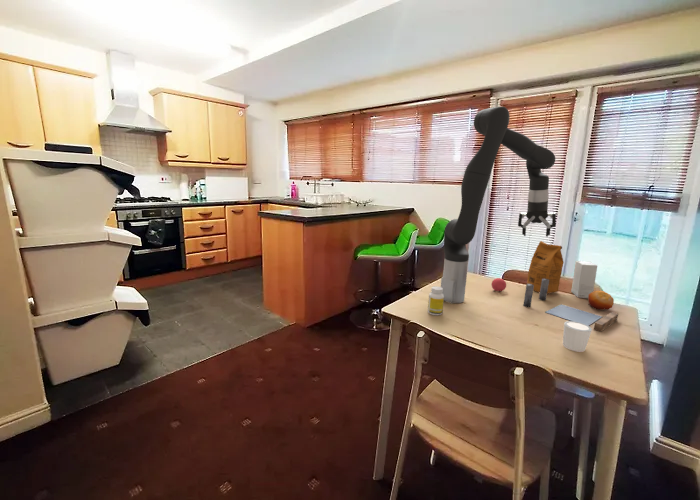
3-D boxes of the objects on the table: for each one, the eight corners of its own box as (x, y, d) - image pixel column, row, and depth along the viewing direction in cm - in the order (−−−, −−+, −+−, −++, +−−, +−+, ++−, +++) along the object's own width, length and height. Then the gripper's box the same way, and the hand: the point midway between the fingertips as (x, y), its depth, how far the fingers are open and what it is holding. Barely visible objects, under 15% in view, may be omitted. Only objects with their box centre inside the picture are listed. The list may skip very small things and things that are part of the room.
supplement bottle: (445, 315, 118) (447, 290, 116) (431, 316, 117) (433, 290, 115) (438, 309, 123) (440, 285, 121) (425, 310, 122) (427, 285, 120)
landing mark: (587, 326, 111) (587, 326, 111) (544, 312, 122) (545, 311, 122) (602, 317, 119) (602, 316, 119) (561, 304, 130) (561, 304, 130)
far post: (544, 301, 134) (547, 280, 132) (537, 299, 136) (540, 278, 134) (547, 299, 135) (550, 279, 133) (540, 297, 137) (543, 277, 135)
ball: (500, 294, 140) (502, 281, 139) (488, 290, 145) (489, 277, 144) (508, 291, 144) (509, 279, 142) (495, 288, 148) (497, 275, 147)
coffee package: (539, 284, 154) (546, 240, 149) (561, 293, 143) (570, 245, 138) (522, 286, 152) (528, 240, 147) (543, 295, 140) (551, 246, 135)
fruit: (600, 299, 132) (610, 287, 127) (609, 316, 127) (620, 303, 121) (579, 298, 133) (588, 286, 128) (587, 314, 128) (598, 302, 122)
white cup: (555, 341, 100) (558, 320, 99) (575, 341, 101) (579, 320, 99) (571, 353, 94) (575, 331, 92) (593, 352, 94) (598, 330, 93)
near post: (528, 307, 126) (532, 286, 124) (521, 305, 128) (525, 284, 126) (531, 306, 128) (535, 285, 126) (525, 304, 130) (528, 283, 128)
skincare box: (592, 299, 137) (599, 265, 134) (576, 297, 139) (582, 264, 135) (585, 292, 145) (591, 261, 141) (569, 291, 146) (575, 259, 143)
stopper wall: (600, 331, 107) (602, 324, 107) (593, 329, 109) (594, 322, 108) (616, 320, 117) (618, 314, 116) (609, 318, 118) (611, 312, 118)
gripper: (518, 201, 138) (517, 237, 143) (558, 201, 131) (555, 238, 136) (519, 198, 144) (518, 233, 149) (557, 197, 137) (554, 233, 142)
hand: (535, 235), depth 142 cm, fingers open, 8 cm apart
